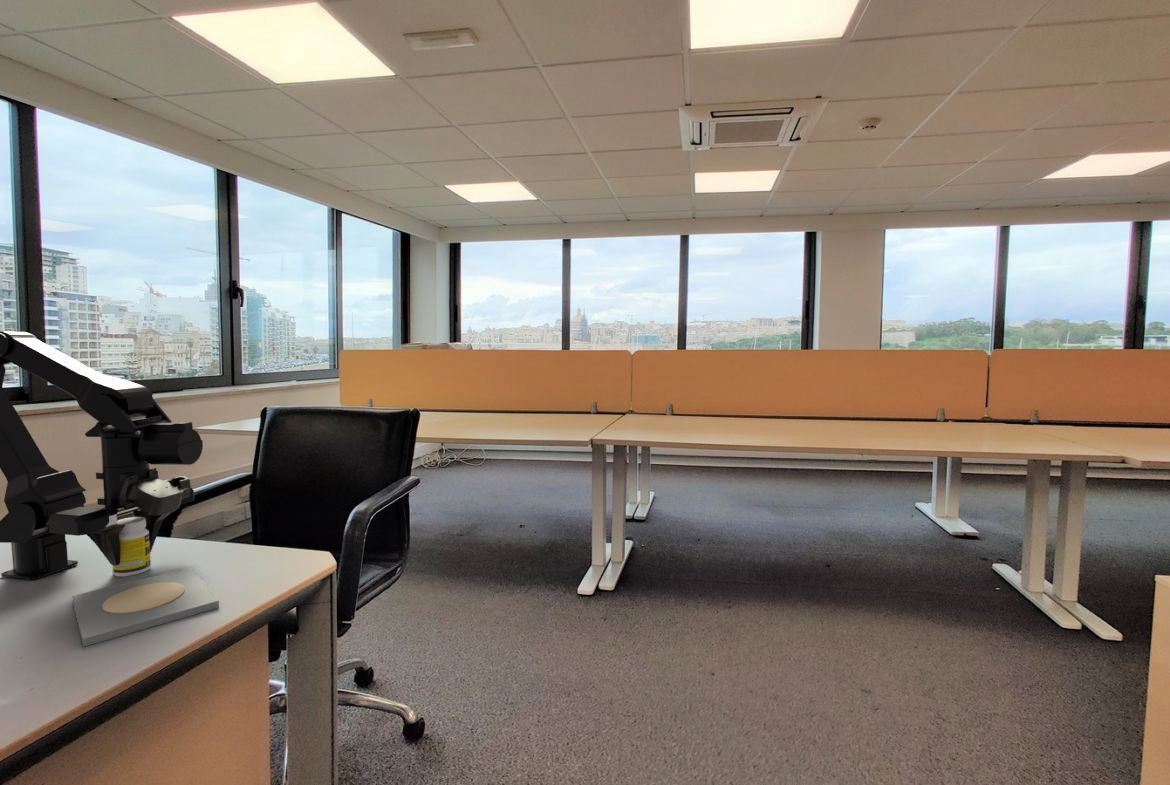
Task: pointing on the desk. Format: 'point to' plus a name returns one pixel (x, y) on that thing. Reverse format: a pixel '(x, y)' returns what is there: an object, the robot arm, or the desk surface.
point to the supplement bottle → (133, 547)
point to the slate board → (141, 605)
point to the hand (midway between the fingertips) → (131, 558)
